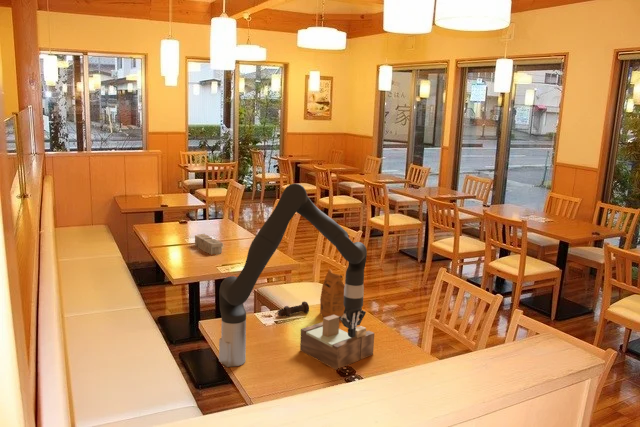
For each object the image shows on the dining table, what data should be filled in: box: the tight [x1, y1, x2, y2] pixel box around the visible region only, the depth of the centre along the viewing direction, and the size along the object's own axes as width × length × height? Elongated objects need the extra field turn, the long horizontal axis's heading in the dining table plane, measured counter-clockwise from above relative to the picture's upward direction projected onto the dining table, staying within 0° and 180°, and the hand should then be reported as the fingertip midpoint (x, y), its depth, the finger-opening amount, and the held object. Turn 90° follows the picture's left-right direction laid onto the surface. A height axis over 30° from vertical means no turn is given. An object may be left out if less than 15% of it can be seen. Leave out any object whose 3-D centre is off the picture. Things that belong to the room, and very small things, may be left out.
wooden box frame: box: [299, 321, 375, 370], centre depth 219 cm, size 21×21×9 cm
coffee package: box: [319, 268, 345, 318], centre depth 256 cm, size 10×12×22 cm
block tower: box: [194, 233, 224, 256], centre depth 362 cm, size 8×8×29 cm
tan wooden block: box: [355, 325, 367, 338], centre depth 214 cm, size 5×3×3 cm, turn 133°
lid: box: [306, 315, 353, 347], centre depth 215 cm, size 13×15×9 cm
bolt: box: [277, 300, 310, 317], centre depth 258 cm, size 6×5×15 cm
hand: (351, 336), depth 212 cm, fingers closed
